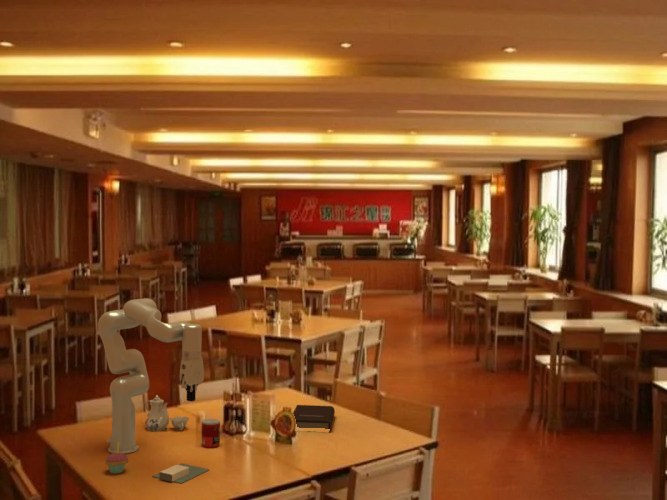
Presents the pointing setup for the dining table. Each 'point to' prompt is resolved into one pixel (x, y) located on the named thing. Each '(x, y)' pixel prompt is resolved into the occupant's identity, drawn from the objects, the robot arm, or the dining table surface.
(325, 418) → the book
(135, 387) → the robot arm
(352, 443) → the dining table surface
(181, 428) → the chinaware
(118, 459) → the cupcake
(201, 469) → the mat
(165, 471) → the slab
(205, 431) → the canned food
